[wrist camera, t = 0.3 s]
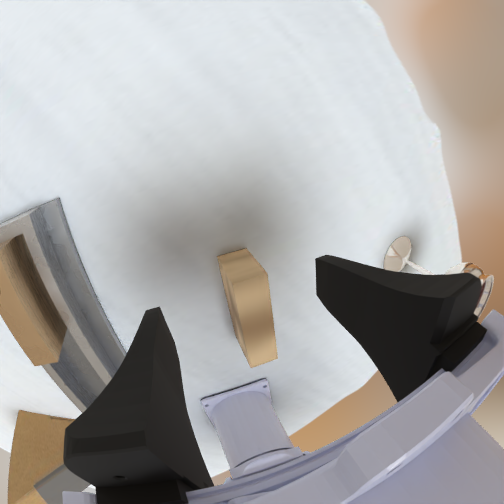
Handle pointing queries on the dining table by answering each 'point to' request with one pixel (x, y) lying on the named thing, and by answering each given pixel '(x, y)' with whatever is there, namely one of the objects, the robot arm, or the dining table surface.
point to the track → (55, 304)
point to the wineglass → (399, 258)
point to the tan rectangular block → (249, 305)
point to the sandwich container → (40, 461)
